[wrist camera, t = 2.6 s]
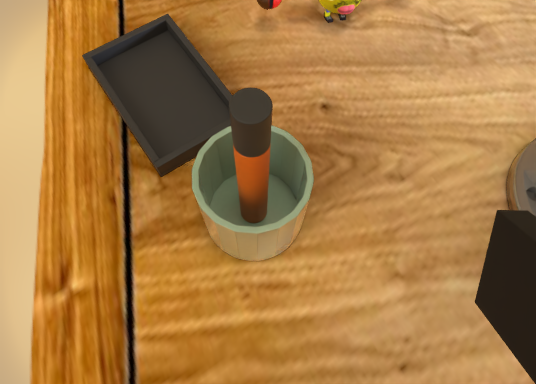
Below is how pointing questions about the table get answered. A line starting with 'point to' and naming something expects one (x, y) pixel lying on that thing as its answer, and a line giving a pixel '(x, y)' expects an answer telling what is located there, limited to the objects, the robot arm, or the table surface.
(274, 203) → the pen cup
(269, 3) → the toy figure
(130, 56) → the pen tray
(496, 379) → the table surface
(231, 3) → the table surface
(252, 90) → the marker
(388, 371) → the table surface
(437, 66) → the table surface
